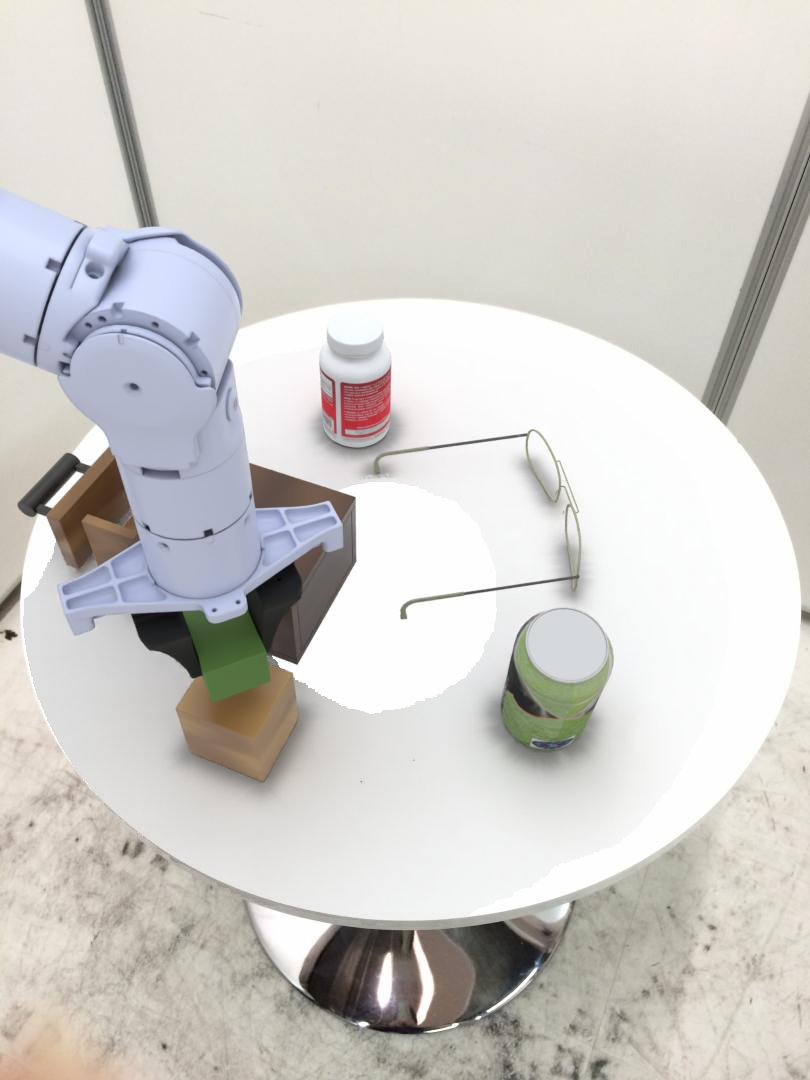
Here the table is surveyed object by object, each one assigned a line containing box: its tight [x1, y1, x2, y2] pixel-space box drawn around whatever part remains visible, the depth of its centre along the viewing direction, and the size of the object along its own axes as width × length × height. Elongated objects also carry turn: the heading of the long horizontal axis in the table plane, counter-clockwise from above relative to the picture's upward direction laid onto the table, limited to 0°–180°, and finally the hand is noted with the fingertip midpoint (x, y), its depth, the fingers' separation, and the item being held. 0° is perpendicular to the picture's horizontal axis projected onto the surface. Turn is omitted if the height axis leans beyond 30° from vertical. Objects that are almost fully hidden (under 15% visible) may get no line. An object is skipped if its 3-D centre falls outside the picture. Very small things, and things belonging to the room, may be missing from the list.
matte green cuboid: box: [182, 609, 271, 703], centre depth 51 cm, size 5×4×3 cm
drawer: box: [16, 446, 138, 570], centre depth 67 cm, size 16×9×6 cm, turn 68°
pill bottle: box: [318, 310, 392, 448], centre depth 76 cm, size 6×6×11 cm
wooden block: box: [175, 663, 299, 783], centre depth 57 cm, size 6×5×6 cm
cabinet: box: [128, 462, 357, 666], centre depth 65 cm, size 13×11×8 cm
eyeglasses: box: [373, 428, 582, 621], centre depth 70 cm, size 16×15×5 cm
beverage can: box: [500, 606, 615, 751], centre depth 56 cm, size 6×7×12 cm
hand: (226, 651), depth 52 cm, fingers closed on matte green cuboid, 3 cm apart
